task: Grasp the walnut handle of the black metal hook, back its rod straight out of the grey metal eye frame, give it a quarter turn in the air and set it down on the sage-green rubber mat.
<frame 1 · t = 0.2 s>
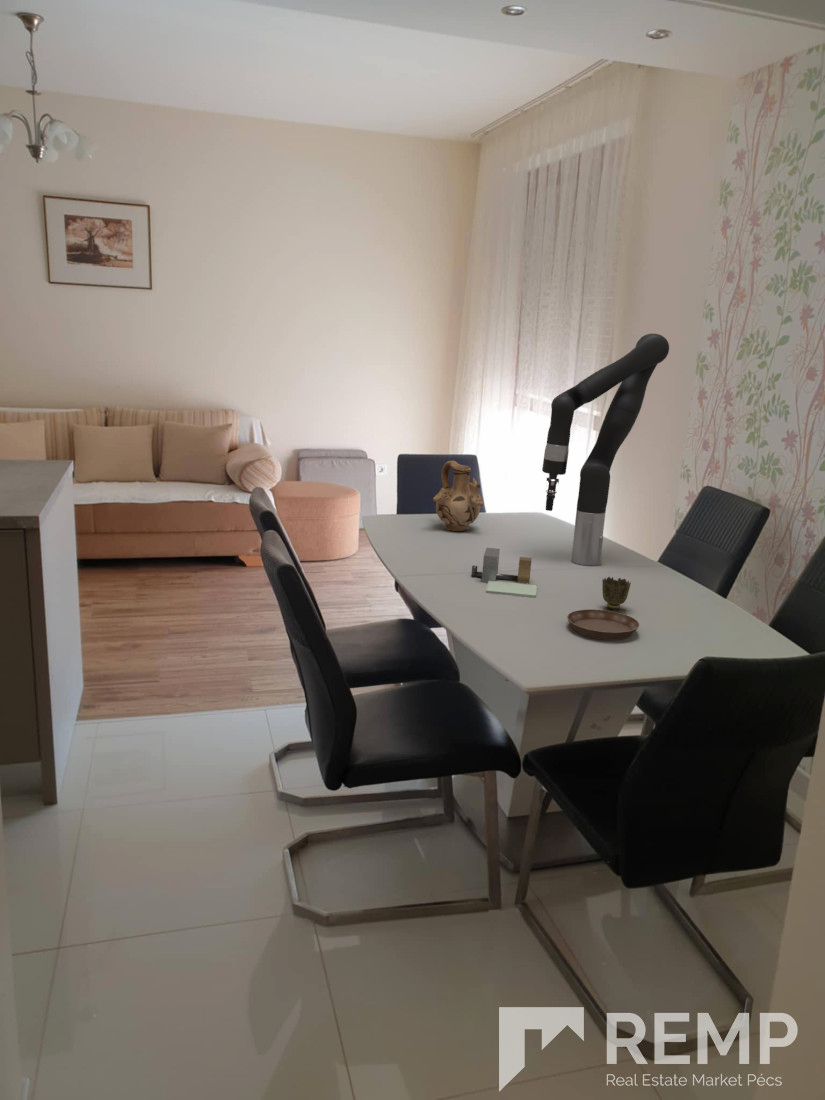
hand: (548, 507, 271), 17 cm above the table, tool pointing down, fingers open, 8 cm apart
cup: (613, 609, 227), on the table
eye frame: (489, 578, 250), on the table
mat: (511, 589, 239), on the table
plant saucer: (601, 631, 210), on the table
ceramic vessel: (456, 530, 310), on the table
hook: (523, 581, 248), on the table
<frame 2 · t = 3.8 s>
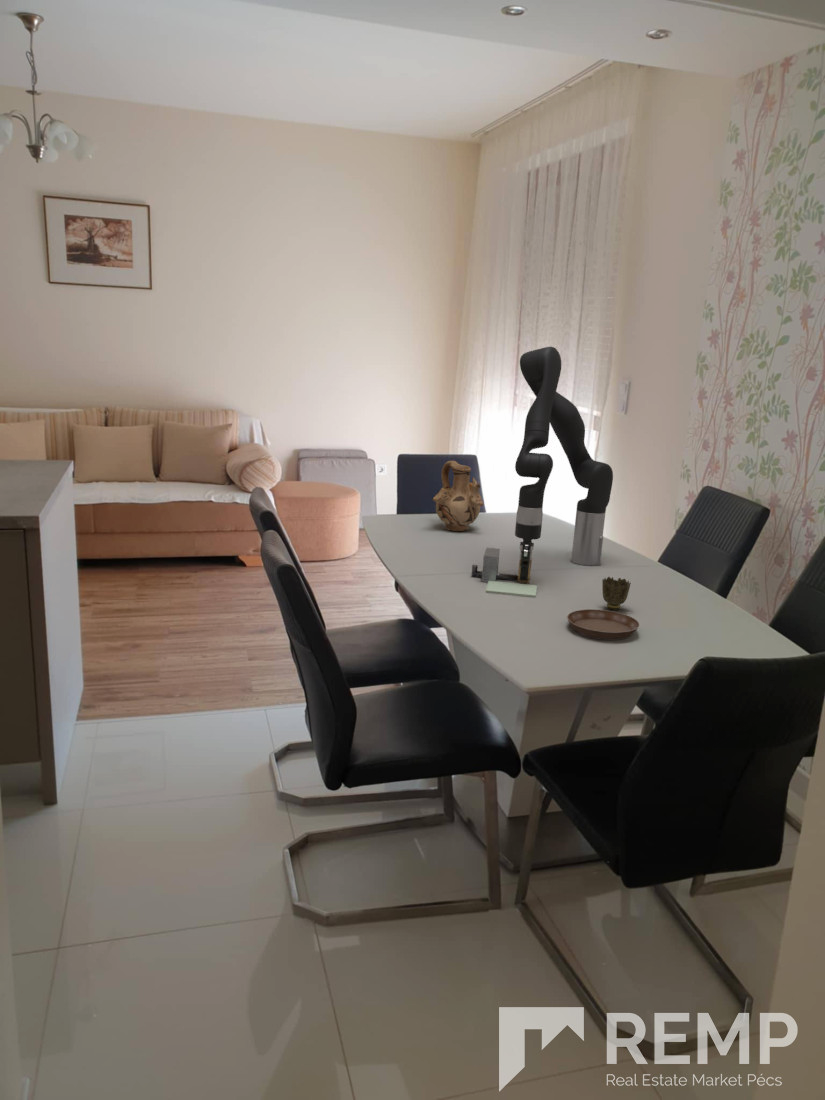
hand: (523, 577, 248), 1 cm above the table, tool pointing down, fingers closed on hook, 3 cm apart
hook: (523, 581, 248), on the table, touching gripper
everything else where it was.
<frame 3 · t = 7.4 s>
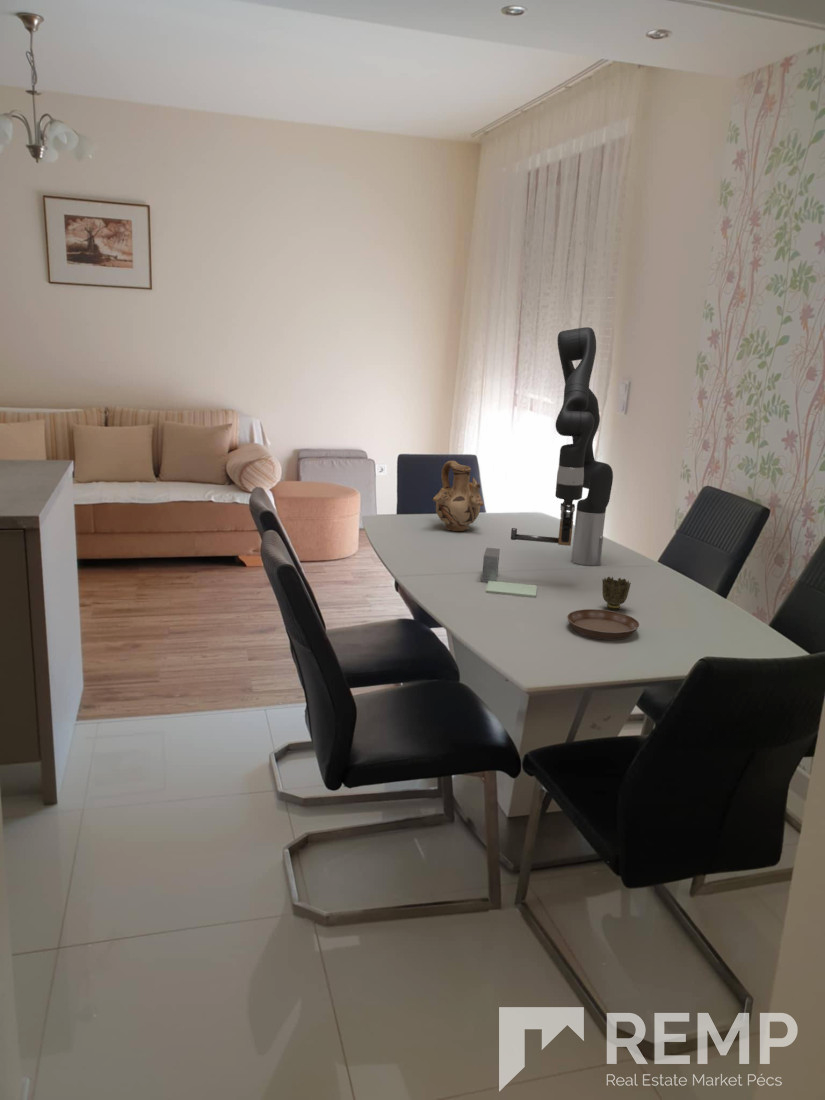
hand: (564, 539, 243), 14 cm above the table, tool pointing down, fingers closed on hook, 3 cm apart
hook: (564, 543, 243), point 13 cm above the table, touching gripper
everything else where it was.
when the fingers open (3 cm above the table, at t = 11.3 s): hook moves 1 cm, resting on mat.
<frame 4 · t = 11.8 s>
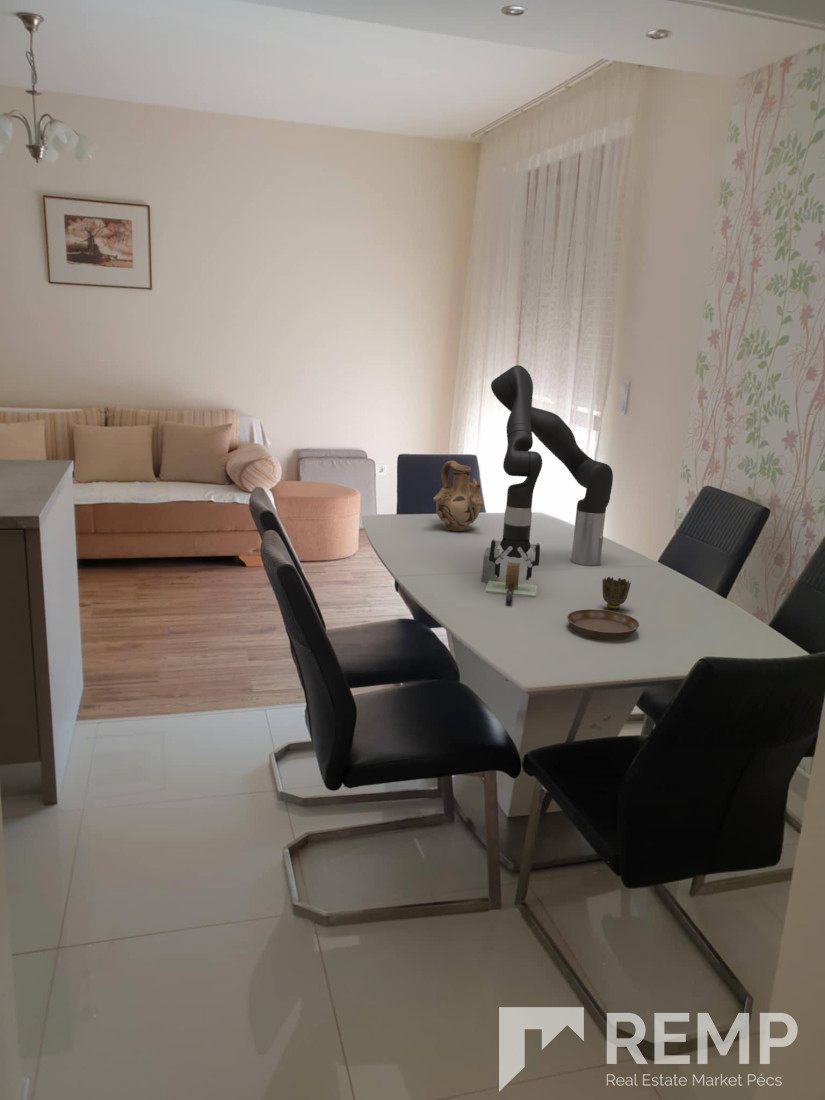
hand: (512, 577, 238), 4 cm above the table, tool pointing down, fingers open, 8 cm apart
hook: (511, 587, 239), point 1 cm above the table, touching mat
everything else where it was.
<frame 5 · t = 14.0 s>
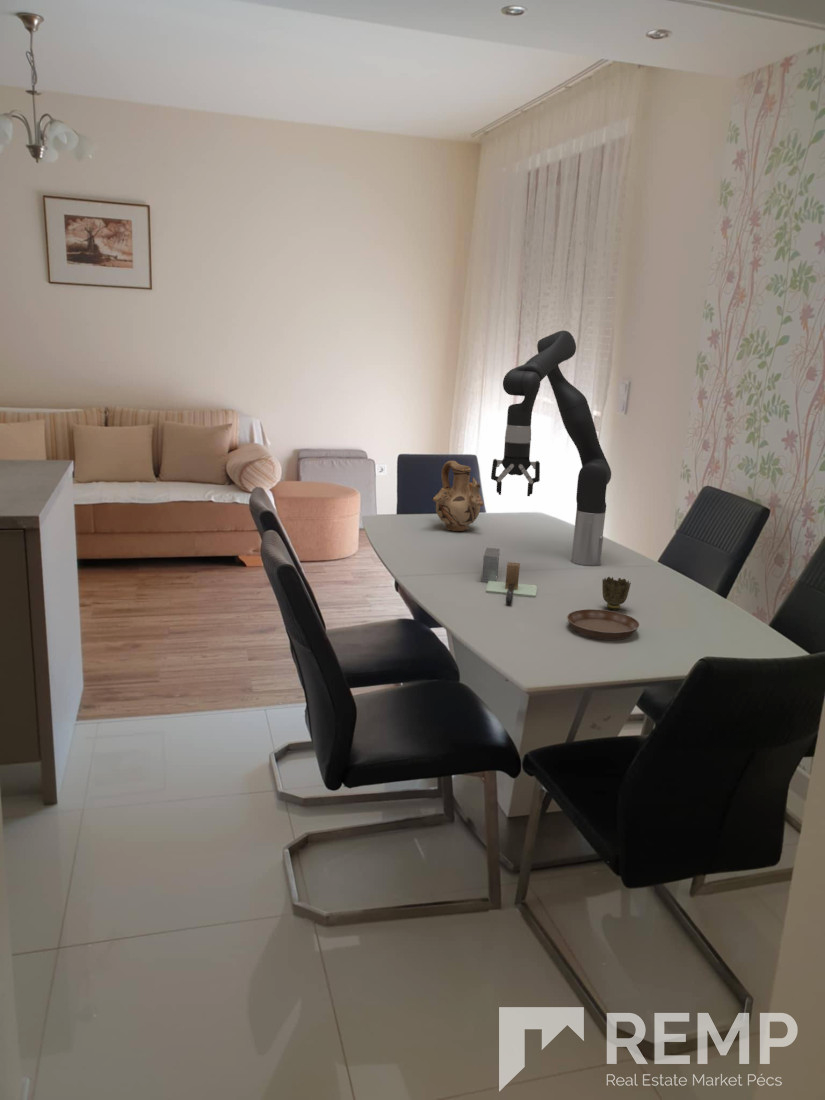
hand: (514, 495, 249), 24 cm above the table, tool pointing down, fingers open, 8 cm apart
nothing on the table moved.
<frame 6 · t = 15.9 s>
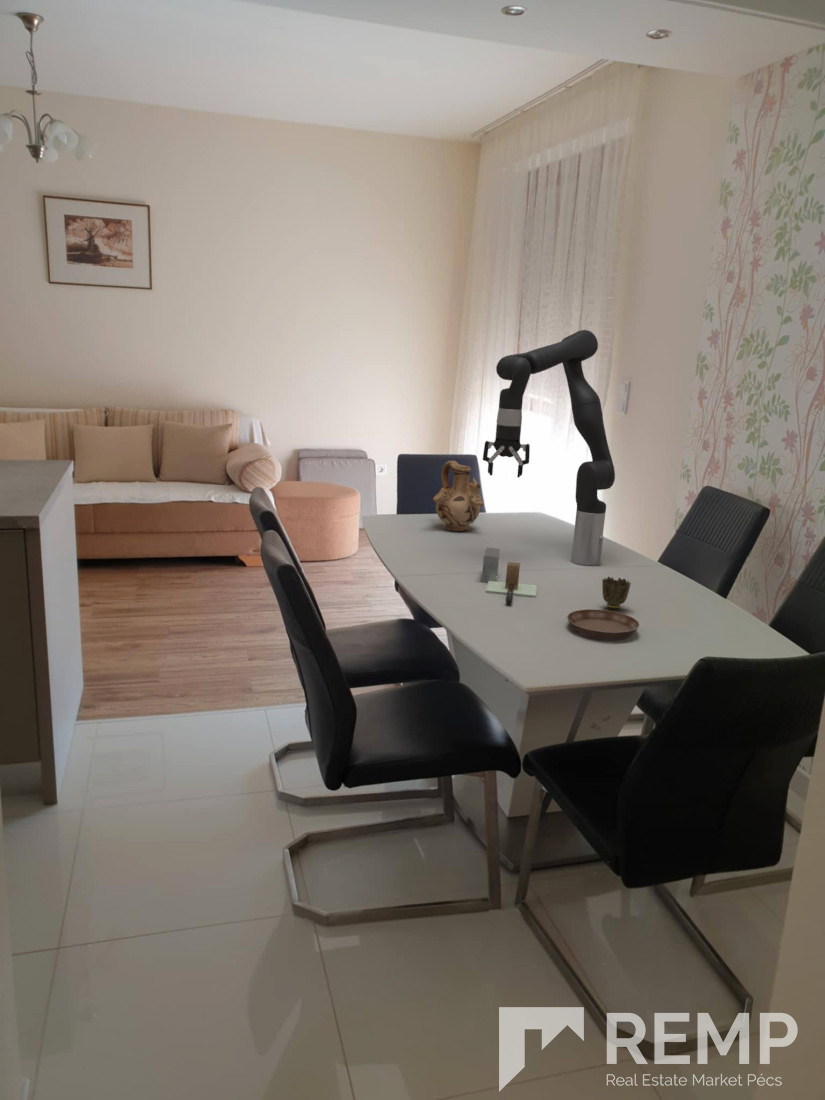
hand: (504, 476, 260), 28 cm above the table, tool pointing down, fingers open, 8 cm apart
nothing on the table moved.
at the end: hook inside the target area on the mat (0.2 cm from its centre), point 0.6 cm above the mat's base; hook touching mat; the gripper is holding nothing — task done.
